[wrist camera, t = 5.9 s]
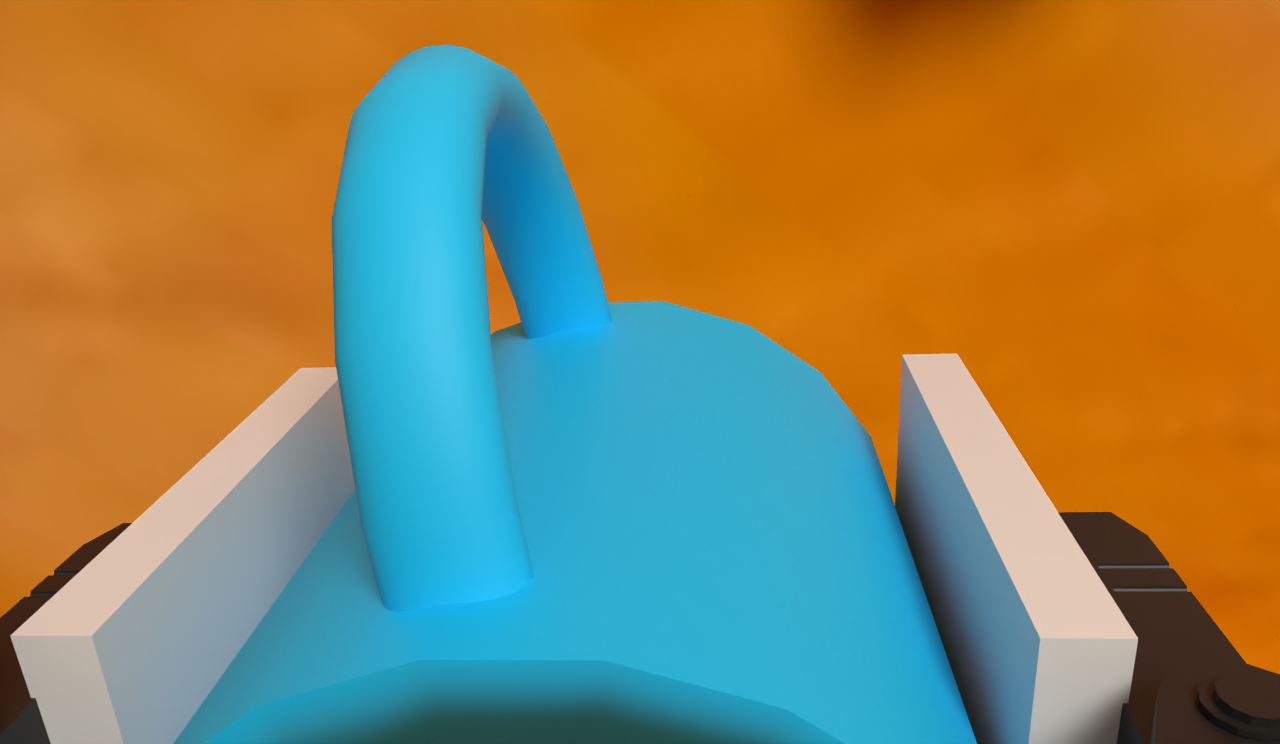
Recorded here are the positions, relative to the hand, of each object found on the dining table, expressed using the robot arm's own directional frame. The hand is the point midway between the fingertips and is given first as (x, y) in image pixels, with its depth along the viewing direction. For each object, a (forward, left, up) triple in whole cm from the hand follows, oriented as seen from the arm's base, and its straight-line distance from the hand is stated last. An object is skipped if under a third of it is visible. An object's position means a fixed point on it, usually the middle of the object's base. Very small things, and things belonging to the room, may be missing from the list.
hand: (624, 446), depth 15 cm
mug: (0, 0, -1) cm, 1 cm away
